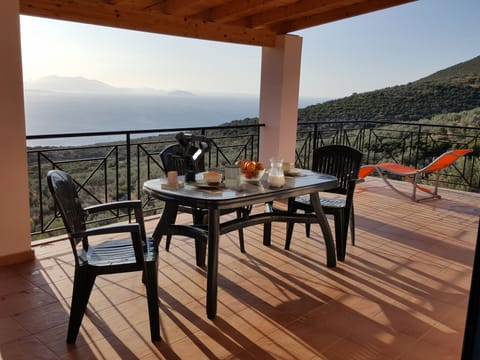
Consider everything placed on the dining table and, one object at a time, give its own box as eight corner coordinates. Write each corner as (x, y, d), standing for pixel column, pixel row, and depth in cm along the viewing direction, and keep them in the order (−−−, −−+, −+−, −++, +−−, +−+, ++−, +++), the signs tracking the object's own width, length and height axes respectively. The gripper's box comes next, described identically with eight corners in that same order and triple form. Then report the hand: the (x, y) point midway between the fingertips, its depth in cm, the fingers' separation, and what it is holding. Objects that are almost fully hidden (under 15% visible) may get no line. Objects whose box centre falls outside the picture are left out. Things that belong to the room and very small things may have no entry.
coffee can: (223, 184, 294) (224, 164, 291) (239, 184, 296) (239, 163, 293) (226, 188, 284) (226, 166, 281) (241, 187, 286) (242, 166, 283)
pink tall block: (172, 186, 286) (171, 171, 284) (177, 187, 285) (177, 171, 283) (168, 187, 282) (167, 172, 280) (173, 188, 280) (173, 173, 278)
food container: (228, 182, 303) (228, 168, 301) (224, 183, 297) (224, 169, 295) (211, 180, 307) (211, 166, 305) (207, 182, 301) (208, 168, 299)
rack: (170, 184, 291) (170, 180, 290) (184, 186, 287) (184, 181, 286) (161, 188, 280) (161, 183, 279) (174, 189, 276) (174, 185, 275)
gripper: (166, 140, 289) (157, 159, 281) (191, 142, 282) (183, 162, 274) (173, 151, 298) (164, 170, 290) (197, 153, 291) (189, 172, 283)
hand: (175, 168), depth 284 cm, fingers open, 9 cm apart
